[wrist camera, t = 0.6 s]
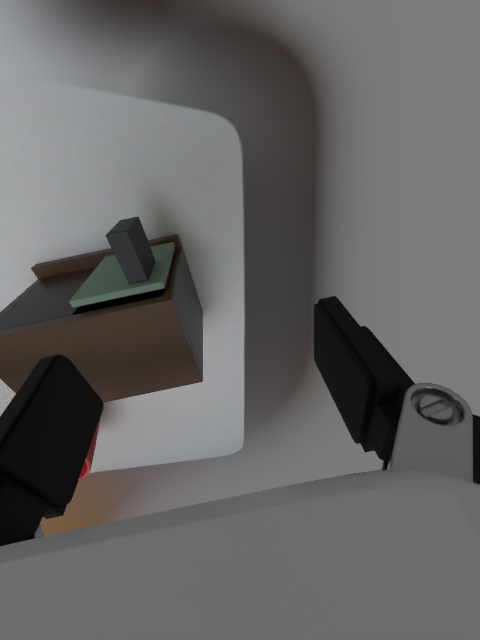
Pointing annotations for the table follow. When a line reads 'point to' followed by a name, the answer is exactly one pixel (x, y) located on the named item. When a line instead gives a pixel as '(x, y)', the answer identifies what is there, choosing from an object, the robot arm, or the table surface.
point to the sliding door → (127, 266)
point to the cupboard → (106, 329)
